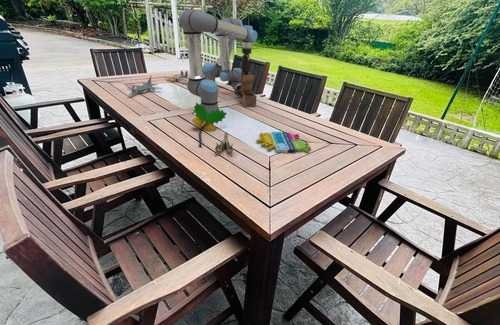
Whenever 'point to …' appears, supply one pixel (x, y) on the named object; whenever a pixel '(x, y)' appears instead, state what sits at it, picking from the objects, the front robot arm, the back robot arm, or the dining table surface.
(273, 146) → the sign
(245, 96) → the chest
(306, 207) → the dining table surface
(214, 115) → the ornament
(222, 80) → the back robot arm
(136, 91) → the airplane
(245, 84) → the brown piece
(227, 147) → the jawbone
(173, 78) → the toy
